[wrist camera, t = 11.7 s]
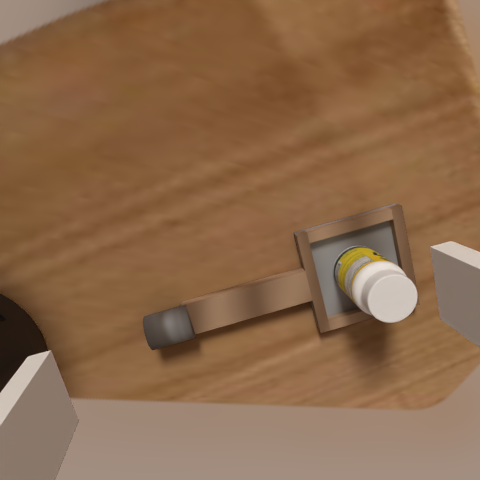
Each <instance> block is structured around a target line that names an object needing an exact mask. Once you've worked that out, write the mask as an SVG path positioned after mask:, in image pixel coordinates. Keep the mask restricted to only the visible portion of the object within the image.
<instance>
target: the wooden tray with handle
mask: <svg viewBox="0 0 480 480" xmlns="http://www.w3.org/2000/svg"><path fill="white" fill-rule="evenodd" d="M294 237H295V241H296V245H297V249H298V253H299V257H300V261H301V265H302V267H301V268H297V269H294V270H290V271H287V272H283V273H280V274H276V275H273V276H269V277H266V278H262V279H259V280H255V281H252V282H248V283H245V284H242V285H238V286H235V287H231V288H228V289H224V290H221V291H217V292H214V293H210V294H207V295H203V296H200V297H196V298H193V299H189V300H186V301H183V302H182V303H181V306H179V307H175V308H172V309H168V310H165V311H161V312H158V313H154V314H151V315H148V316H144V319H143V326H144V332H145V336H146V340H147V342H148V345H149V347H150V348H151V349H152V350H156V349H159V348H163V347H166V346H169V345H173V344H176V343H180V342H183V341H187V340H190V339H194V338H196V334H199V333H202V332H205V331H209V330H212V329H216V328H219V327H223V326H226V325H230V324H233V323H237V322H240V321H243V320H247V319H250V318H254V317H257V316H261V315H264V314H268V313H271V312H275V311H278V310H282V309H285V308H288V307H292V306H295V305H299V304H302V303H306V302H309V301H311V305H312V309H313V313H314V317H315V321H316V325H317V328H318V329H319V331H320V333H323V332H327V331H330V330H334V329H337V328H340V327H344V326H347V325H351V324H354V323H358V322H361V321H365V320H368V319H371V318H375V317H374V316H373V315H370V314H367V313H365V312H364V311H362V310H361V309H360V308H359V307H358V306H357V305H356V304H355V303H354V302H353V301H352V300H351V298H350V297H349V296H348V295H347V294H346V293H345V292H344V291H343V290H342V289H341V288H340V287H339V286H338V285H337V283H336V281H335V279H334V276H333V266H334V263H335V260H336V259H337V257H338V256H339V255H340V253H341V252H343V251H344V250H345V249H347V248H349V247H352V246H365V247H368V248H370V249H372V250H374V251H375V252H377V253H378V254H380V255H381V256H383V257H385V258H386V259H388V260H389V261H391V262H393V263H394V264H396V265H397V266H399V267H400V268H401V269H402V270H403V272H404V273H405V275H406V276H407V278H409V279H410V280H411V281H412V282H413V283H414V285H415V287H416V290H417V286H416V281H415V276H414V270H413V265H412V259H411V254H410V248H409V243H408V237H407V232H406V227H405V221H404V216H403V210H402V206H401V205H398V204H392V205H389V206H385V207H382V208H378V209H375V210H371V211H368V212H364V213H361V214H357V215H354V216H350V217H347V218H344V219H340V220H337V221H333V222H330V223H326V224H323V225H319V226H316V227H312V228H309V229H305V230H302V231H298V232H295V233H294ZM416 305H420V303H419V297H418V292H417V303H416Z"/></svg>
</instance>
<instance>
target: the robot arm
mask: <svg viewBox="0 0 480 480" xmlns="http://www.w3.org/2000/svg"><path fill="white" fill-rule="evenodd" d="M430 249H431V256H432V263H433V270H434V278H435V285H436V292H437V299H438V306H439V314H440V319H441V320H442V321H443V322H445V323H446V324H448V325H449V326H450V327H452V328H453V329H455V330H456V331H457V332H459V333H460V334H462V335H463V336H464V337H466V338H467V339H469V340H470V341H471V342H473V343H474V344H475V345H477V346H478V347H480V252H478V251H475V250H473V249H470V248H468V247H465V246H463V245H460V244H457V243H455V242H452V241H450V242H446V243H443V244H439V245H435V246H432V247H430ZM78 421H79V420H78V418H77V415H76V413H75V410H74V407H73V405H72V403H71V400H70V397H69V395H68V392H67V390H66V387H65V384H64V382H63V379H62V377H61V374H60V372H59V369H58V367H57V364H56V362H55V359H54V356H53V354H52V351H51V350H50V351H47V349H46V345H45V342H44V339H43V337H42V335H41V332H40V331H39V329H38V327H37V326H36V324H35V323H34V321H33V320H32V319H31V317H30V316H29V315H28V314H27V313H26V312H25V311H24V310H23V309H22V308H21V307H20V306H18V305H17V304H16V303H14V302H13V301H12V300H10V299H9V298H7V297H5V296H3V295H2V294H0V480H55V479H56V476H57V474H58V471H59V469H60V466H61V464H62V461H63V459H64V456H65V454H66V451H67V449H68V446H69V444H70V441H71V439H72V436H73V434H74V432H75V429H76V427H77V424H78Z"/></svg>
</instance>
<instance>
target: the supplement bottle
mask: <svg viewBox="0 0 480 480" xmlns="http://www.w3.org/2000/svg"><path fill="white" fill-rule="evenodd" d="M333 276H334V279H335V281H336V283H337V285H338V286H339V287H340V288H341V289H342V290H343V291H344V292H345V293H346V294H347V295H348V296H349V297H350V298H351V300H352V301H353V302H354V303H355V304H356V305H357V306H358V307H359V308H360V309H361V310H362V311H364V312H365V313H367V314H370V315H373V316H374V317H375V318H376V319H378V320H380V321H382V322H387V323H393V322H398V321H401V320H403V319H404V318H406V317H407V316H408V315H410V314H411V312H412V311H413V310H414V308H415V306H416V303H417V290H416V287H415V285H414V283H413V282H412V281H411V280H410V279H409V278H407V276H406V275H405V273H404V272H403V270H402V269H401V268H400V267H399V266H397V265H396V264H394V263H393V262H391V261H389V260H388V259H386V258H385V257H383V256H381V255H380V254H378V253H377V252H375V251H374V250H372V249H370V248H368V247H365V246H352V247H349V248H347V249H345V250H344V251H343V252H341V253H340V255H339V256H338V257H337V259H336V260H335V263H334V266H333Z"/></svg>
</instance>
